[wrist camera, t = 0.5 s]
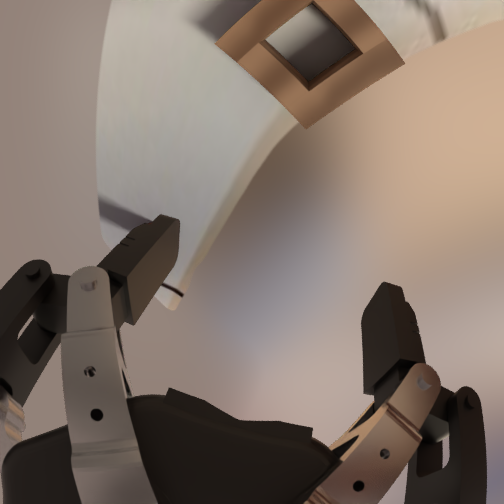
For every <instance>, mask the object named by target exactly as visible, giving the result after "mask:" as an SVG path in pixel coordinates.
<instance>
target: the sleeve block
mask: <svg viewBox="0 0 504 504" xmlns="http://www.w3.org/2000/svg"><path fill="white" fill-rule="evenodd" d="M311 3H313V4H314V5H315V6H316V7H317V8H318V9H319V10H320V11H321V12H322V13H323V14H324V15H325V16H326V17H327V18H328V19H329V20H330V21H331V22H332V23H333V24H334V25H335V26H336V27H337V28H338V29H339V30H340V32H341V33H342V34H343V35H344V36H345V37H346V38H347V39H348V40H349V42H350V43H351V44H352V45H353V46H354V47H355V48H356V49H355V50H353V51H352V52H350V53H349V54H347V55H346V56H344V57H343V58H341V59H340V60H339V61H337V62H336V63H334V64H333V65H331V66H330V67H329V68H327V69H326V70H324V71H323V72H322V73H320V74H319V75H317V76H316V77H315V78H313V79H312V80H311V81H309V82H308V81H307V80H306V79H305V78H304V77H303V76H302V75H301V74H300V73H299V72H298V71H297V70H296V69H295V68H294V67H293V66H292V65H291V64H290V63H289V62H288V61H287V60H286V59H285V58H284V57H283V56H282V55H281V54H280V53H279V52H278V51H277V50H276V49H275V48H274V47H273V46H271V45H270V44H269V43H268V42H267V41H266V40H265V39H266V38H267V37H269V36H270V35H271V34H272V33H273V32H275V31H276V30H277V29H278V28H279V27H281V26H282V25H283V24H285V23H286V22H287V21H288V20H290V19H291V18H292V17H294V16H295V15H296V14H298V13H299V12H300V11H302V10H303V9H304V8H306V7H307V6H308V5H310V4H311ZM215 45H217V46H218V47H219V48H220V49H222V50H223V51H224V52H225V53H226V54H228V55H229V56H230V57H231V58H232V59H233V60H235V61H236V62H237V63H238V64H239V65H240V66H242V67H243V68H244V69H245V70H246V71H247V72H248V73H249V74H250V75H252V76H253V77H254V78H255V79H256V80H257V81H258V82H259V83H260V84H261V85H262V86H263V87H265V88H266V89H267V90H268V91H269V92H270V93H271V94H272V95H273V96H274V97H275V98H276V99H277V100H278V101H279V102H280V103H281V104H282V105H283V106H284V107H285V108H286V109H287V110H288V111H289V112H290V113H291V114H292V115H293V116H294V117H295V118H296V119H297V120H298V121H299V122H300V124H301V125H302V126H303V127H304V128H305V129H307V128H309V127H310V126H311V125H313V124H314V123H316V122H317V121H318V120H320V119H321V118H322V117H324V116H326V115H327V114H328V113H330V112H331V111H333V110H334V109H336V108H337V107H339V106H340V105H342V104H343V103H344V102H346V101H347V100H349V99H350V98H352V97H353V96H355V95H356V94H358V93H359V92H361V91H362V90H364V89H365V88H367V87H369V86H370V85H371V84H373V83H375V82H376V81H378V80H379V79H381V78H383V77H384V76H386V75H387V74H389V73H390V72H392V71H394V70H396V69H397V68H399V67H400V66H402V65H404V64H405V62H404V61H403V60H402V58H401V57H400V55H399V54H398V53H397V51H396V50H395V48H394V47H393V46H392V44H391V43H390V42H389V41H388V39H387V38H386V37H385V35H384V34H383V33H382V32H381V30H380V29H379V28H378V27H377V26H376V24H375V23H374V22H373V21H372V20H371V18H370V17H369V16H368V15H367V14H366V13H365V12H364V10H363V9H362V8H361V7H360V6H359V5H358V4H357V3H356V2H355V1H354V0H262V1H260V2H259V3H258V4H257V5H256V6H254V7H253V8H252V9H251V10H250V11H249V12H248V13H246V14H245V15H244V16H243V17H242V18H241V19H240V20H239V21H237V22H236V23H235V24H234V25H233V26H232V27H231V28H230V29H229V30H228V31H227V32H226V33H225V34H224V35H223V36H222V37H221V38H220V39H219V40H218V41H217V42H216V43H215Z"/></svg>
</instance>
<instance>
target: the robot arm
mask: <svg viewBox="0 0 504 504" xmlns="http://www.w3.org/2000/svg"><path fill="white" fill-rule="evenodd" d="M179 233H180V221H179V219H176V218H172V217H169V216H165V215H162V214H160V215H159V216H158V217H157V218H156V219H155V220H154V221H153V222H152V223H151V224H147V223H144V224H142V225H140V226H138V227H136V228H134V229H133V230H132V231H131V232H130V233H129V234H128V235H127V236H126V238H124V239H123V240H122V241H121V242H120V244H118V245H117V246H116V247H115V248H114V249H113V250H112V251H111V252H110V253H109V254H108V255H107V256H106V257H105V258H104V259H103V260H102V261H101V262H100V263H99V264H98V265H97V266H96V267H95V266H87V267H83V268H81V269H78V270H77V271H75V272H74V273H73V274H72V275H71V276H68V275H60V274H53V273H52V271H51V267H50V265H49V263H48V262H46V261H44V260H32V261H30V262H28V263H26V264H24V265H23V266H22V267H21V268H20V269H19V270H18V271H17V272H16V273H15V274H14V275H13V276H12V278H11V279H10V280H9V281H8V282H7V283H6V284H5V285H4V286H3V288H2V289H1V290H0V473H1V478H2V488H3V504H378V503H379V501H380V500H381V499H382V498H383V496H384V495H385V494H386V493H387V491H388V490H389V489H390V487H391V486H392V485H393V483H394V482H395V481H396V479H397V478H398V476H399V475H400V474H401V472H402V471H403V469H404V468H405V466H406V465H407V463H408V474H407V485H406V494H405V502H404V504H486V492H487V490H486V489H487V462H486V461H487V460H486V443H485V431H484V422H483V414H482V407H481V402H480V399H479V396H478V395H477V393H476V392H475V391H474V390H473V389H472V388H470V387H467V386H464V387H461V388H460V389H459V390H458V391H457V392H455V393H454V392H452V391H450V390H448V389H446V388H444V387H442V386H441V381H440V378H439V376H438V374H437V372H436V371H435V370H434V369H433V368H432V367H431V366H429V365H427V364H426V362H425V356H424V351H423V346H422V342H421V337H420V334H419V328H418V326H417V320H416V316H415V313H414V311H413V309H412V308H411V306H410V304H409V303H408V302H406V301H405V297H404V294H403V290H402V288H401V287H400V286H397V285H393V284H390V283H387V282H383V283H381V285H380V286H379V288H378V289H377V291H376V293H375V294H374V296H373V297H372V299H371V300H370V302H369V304H368V305H367V307H366V308H365V310H364V312H363V316H362V320H361V327H362V328H361V329H362V347H363V383H364V384H363V386H364V394H367V395H374V401H373V402H372V403H371V404H370V405H369V406H368V407H367V409H366V410H365V411H364V412H363V413H362V415H360V417H359V418H358V419H357V420H356V421H355V422H354V423H353V424H352V426H351V427H350V428H349V429H348V430H347V431H346V432H345V433H344V434H343V435H342V436H341V437H340V438H339V439H338V440H336V441H335V442H334V443H333V444H331V445H330V446H329V447H327V446H326V445H325V444H323V443H322V442H320V441H319V440H317V439H315V438H313V437H312V431H313V428H311V427H306V426H300V425H295V424H290V423H285V422H281V421H243V420H238V419H236V418H234V417H232V416H230V415H228V414H227V413H225V412H223V411H222V410H220V409H218V408H216V407H215V406H213V405H211V404H210V403H208V402H206V401H205V400H202V399H199V398H197V397H194V396H190V395H188V394H185V393H183V392H180V391H177V390H175V389H172V388H169V389H168V391H167V394H166V396H165V395H141V396H135V397H134V393H133V389H132V386H131V382H130V379H129V375H128V370H127V366H126V361H125V355H124V350H123V345H122V339H121V333H120V327H121V326H122V324H123V323H124V322H127V323H129V324H131V325H135V323H136V322H137V320H138V319H139V317H140V316H141V314H142V313H143V311H144V310H145V308H146V307H147V305H148V304H149V302H150V301H151V299H152V298H153V296H154V295H155V293H156V292H157V290H158V289H159V287H160V286H161V284H162V283H163V281H164V280H165V278H166V277H167V276H168V274H169V273H170V271H171V270H172V268H173V267H174V265H175V263H176V260H177V257H178V250H179ZM31 315H33V317H34V318H33V320H32V321H31V322H30V324H29V325H28V326H27V328H26V329H25V330H24V332H23V333H22V335H21V336H20V338H19V339H18V340H17V338H18V334H19V332H20V330H21V329H22V327H23V326H24V325H25V323H26V322H27V320H28V319H29V318H30V316H31ZM60 342H61V364H62V380H63V391H64V401H65V409H66V416H67V422H68V424H67V425H65V426H62V427H59V428H57V429H54V430H52V431H49V432H46V433H43V434H41V435H38V436H35V437H32V438H30V439H27V440H24V441H22V434H21V433H22V432H23V431H24V430H25V426H26V425H25V422H24V411H23V409H22V407H23V405H24V404H25V402H26V400H27V398H28V396H29V394H30V392H31V391H32V389H33V387H34V385H35V383H36V382H37V380H38V378H39V377H40V375H41V373H42V371H43V370H44V368H45V366H46V365H47V363H48V361H49V360H50V358H51V357H52V355H53V353H54V352H55V350H56V348H57V347H58V345H59V344H60ZM448 436H449V449H450V457H449V461H448V463H447V465H446V466H445V467H444V468H443V469H442V460H443V451H442V450H443V448H442V440H443V439H444V438H446V437H448Z"/></svg>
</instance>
